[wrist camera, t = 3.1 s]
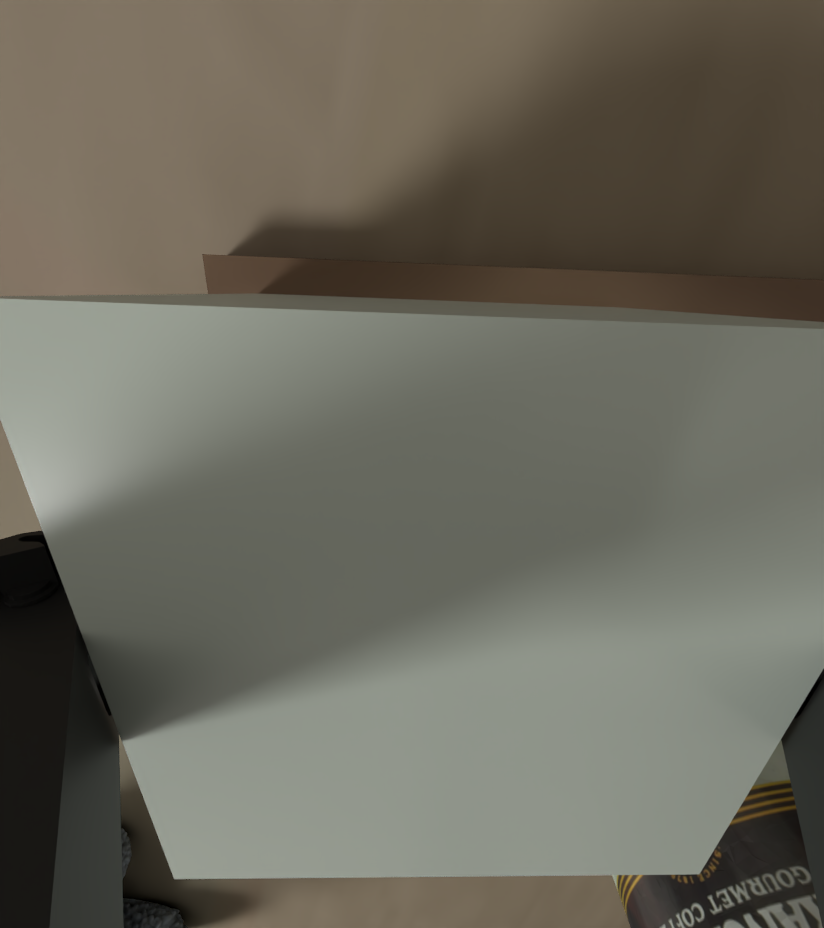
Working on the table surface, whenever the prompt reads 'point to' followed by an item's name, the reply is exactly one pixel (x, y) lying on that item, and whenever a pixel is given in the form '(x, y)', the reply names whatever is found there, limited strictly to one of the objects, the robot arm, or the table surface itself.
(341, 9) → the table surface
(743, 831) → the coffee can
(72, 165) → the table surface
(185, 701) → the pale green block
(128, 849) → the koala plush
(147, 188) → the table surface
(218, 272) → the board
